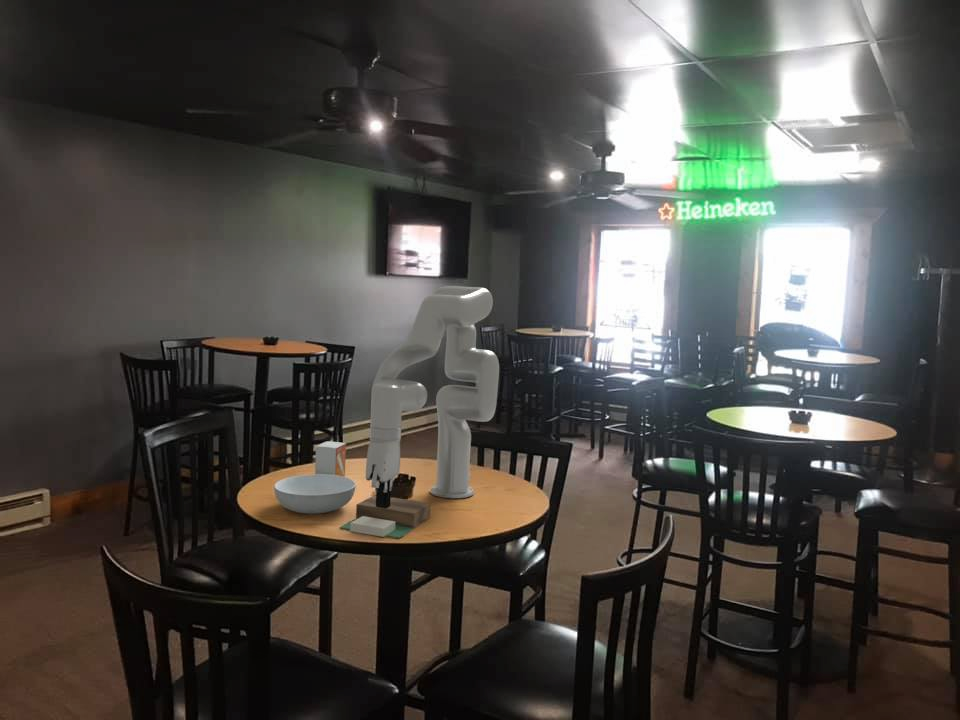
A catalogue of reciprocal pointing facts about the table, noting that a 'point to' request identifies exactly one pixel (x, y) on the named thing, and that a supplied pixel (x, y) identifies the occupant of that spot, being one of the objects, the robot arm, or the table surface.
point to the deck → (396, 511)
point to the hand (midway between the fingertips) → (382, 506)
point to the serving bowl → (314, 493)
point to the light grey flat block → (372, 526)
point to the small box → (330, 458)
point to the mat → (396, 533)
